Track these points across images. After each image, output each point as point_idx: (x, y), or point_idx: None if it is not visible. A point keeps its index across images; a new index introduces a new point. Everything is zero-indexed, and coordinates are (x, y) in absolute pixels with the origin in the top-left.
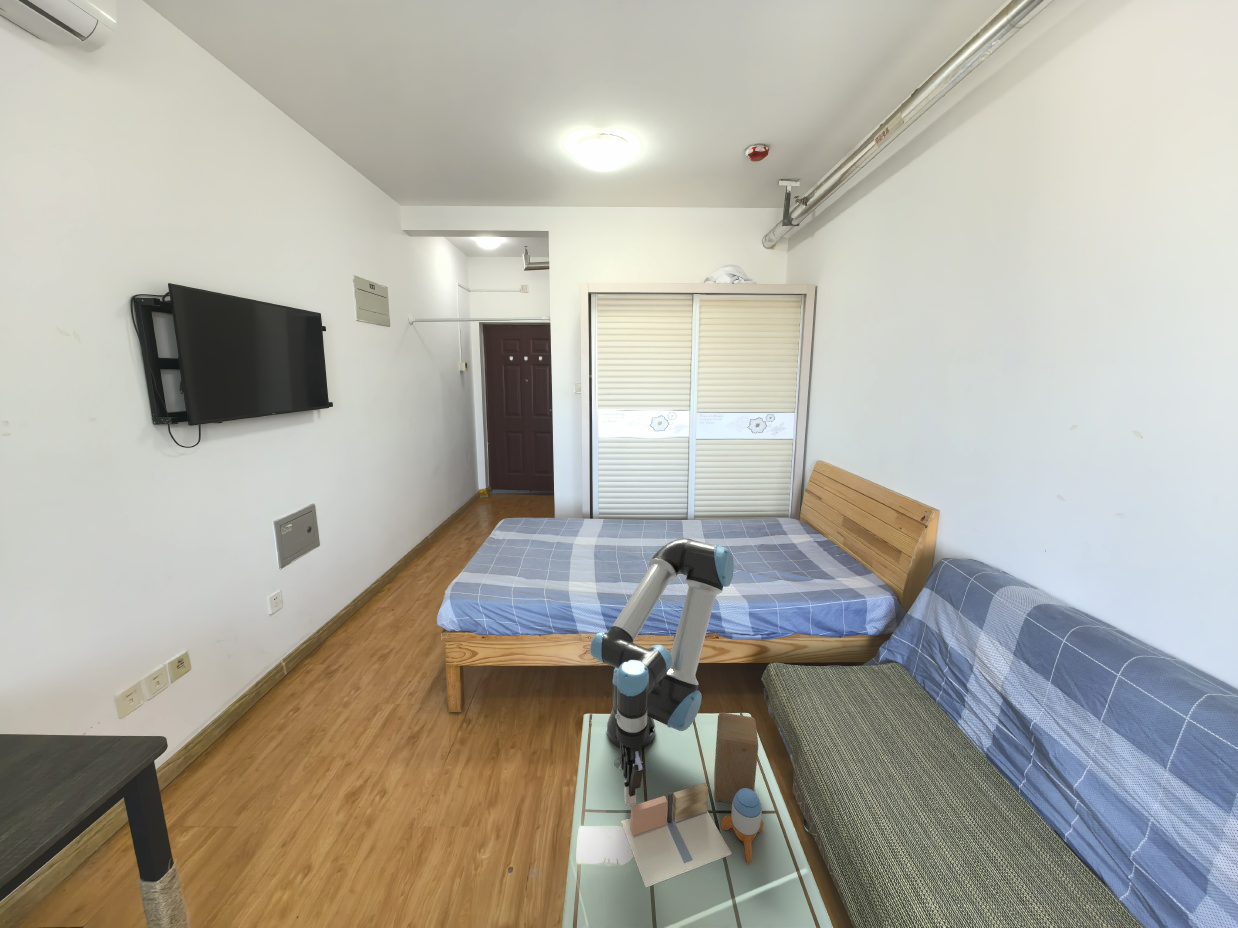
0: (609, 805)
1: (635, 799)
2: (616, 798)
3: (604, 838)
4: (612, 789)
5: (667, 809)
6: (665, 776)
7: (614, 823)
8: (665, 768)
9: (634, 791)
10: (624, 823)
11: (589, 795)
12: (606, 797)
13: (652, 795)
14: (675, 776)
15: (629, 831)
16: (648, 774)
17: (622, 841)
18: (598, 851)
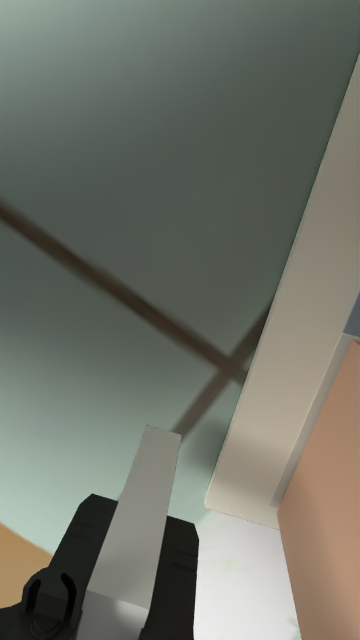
0: (100, 486)
1: (178, 448)
2: (85, 442)
3: (221, 580)
4: (32, 429)
5: (313, 271)
6: (102, 104)
7: (189, 518)
8: (47, 56)
9: (194, 576)
10: (224, 502)
11: (14, 520)
12: (57, 473)
13: (171, 278)
14: (139, 28)
15: (273, 509)
16: (36, 204)
17: (281, 540)
18: (251, 621)
